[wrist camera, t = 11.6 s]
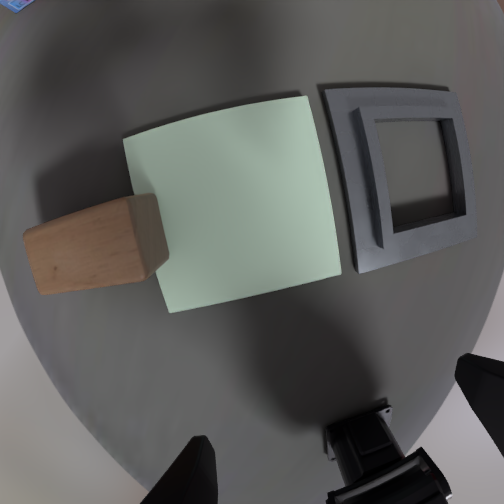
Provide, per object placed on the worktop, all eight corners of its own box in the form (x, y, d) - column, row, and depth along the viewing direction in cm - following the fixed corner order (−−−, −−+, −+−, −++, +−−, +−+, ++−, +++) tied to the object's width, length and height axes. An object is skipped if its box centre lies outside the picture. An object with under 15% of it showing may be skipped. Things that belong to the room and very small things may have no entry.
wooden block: (147, 283, 12) (37, 297, 13) (173, 258, 16) (72, 276, 17) (126, 195, 11) (19, 232, 12) (158, 190, 15) (58, 220, 16)
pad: (338, 271, 17) (341, 274, 17) (171, 309, 17) (169, 313, 17) (304, 98, 15) (306, 95, 14) (126, 140, 15) (122, 139, 14)
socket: (472, 235, 18) (484, 239, 16) (355, 270, 18) (364, 278, 16) (451, 93, 15) (463, 90, 13) (321, 92, 15) (329, 85, 13)
